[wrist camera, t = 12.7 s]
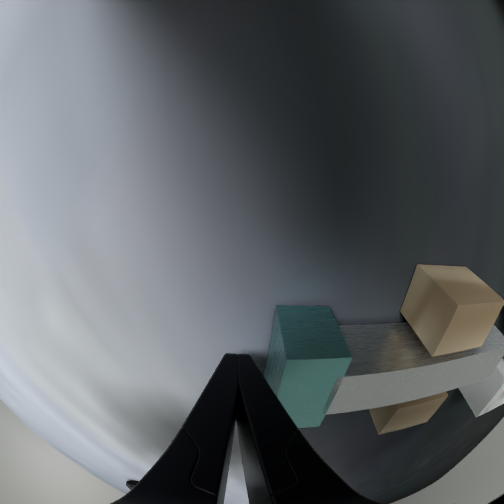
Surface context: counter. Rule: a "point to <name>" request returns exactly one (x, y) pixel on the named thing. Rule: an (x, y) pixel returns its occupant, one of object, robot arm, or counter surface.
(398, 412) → the pin mount
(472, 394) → the socket
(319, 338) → the lock pin
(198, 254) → the counter surface
